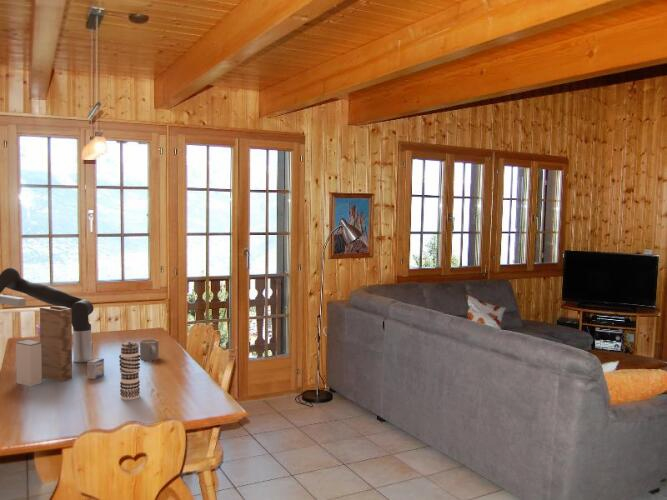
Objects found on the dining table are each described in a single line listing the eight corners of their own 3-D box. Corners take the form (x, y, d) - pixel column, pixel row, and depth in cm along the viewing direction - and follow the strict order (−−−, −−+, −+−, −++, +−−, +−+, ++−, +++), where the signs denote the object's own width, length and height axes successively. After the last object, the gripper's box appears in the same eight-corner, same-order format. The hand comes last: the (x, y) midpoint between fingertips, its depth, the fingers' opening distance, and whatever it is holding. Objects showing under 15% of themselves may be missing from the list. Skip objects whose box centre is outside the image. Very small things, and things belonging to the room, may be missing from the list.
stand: (52, 373, 307) (51, 305, 304) (72, 378, 301) (71, 308, 298) (40, 377, 301) (39, 307, 298) (60, 381, 295) (59, 310, 292)
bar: (-3, 300, 303) (-3, 293, 303) (25, 305, 293) (25, 298, 293) (-10, 301, 300) (-10, 294, 299) (18, 306, 290) (18, 299, 290)
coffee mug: (138, 357, 344) (138, 339, 343) (157, 355, 348) (157, 338, 347) (142, 363, 331) (142, 345, 331) (160, 361, 336) (160, 343, 335)
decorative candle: (128, 401, 269) (128, 345, 267) (114, 397, 274) (114, 342, 272) (144, 395, 277) (144, 342, 275) (131, 392, 282) (131, 339, 280)
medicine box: (95, 379, 300) (95, 362, 299) (87, 378, 301) (86, 361, 300) (104, 375, 308) (104, 358, 307) (96, 374, 309) (96, 357, 308)
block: (27, 379, 296) (27, 339, 295) (41, 383, 292) (41, 342, 290) (16, 383, 291) (15, 342, 289) (30, 386, 287) (30, 344, 285)
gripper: (-33, 305, 300) (-15, 290, 292) (-6, 301, 312) (12, 287, 305) (-29, 318, 299) (-10, 305, 291) (-1, 314, 311) (17, 301, 304)
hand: (2, 296), depth 298 cm, fingers closed on bar, 3 cm apart
